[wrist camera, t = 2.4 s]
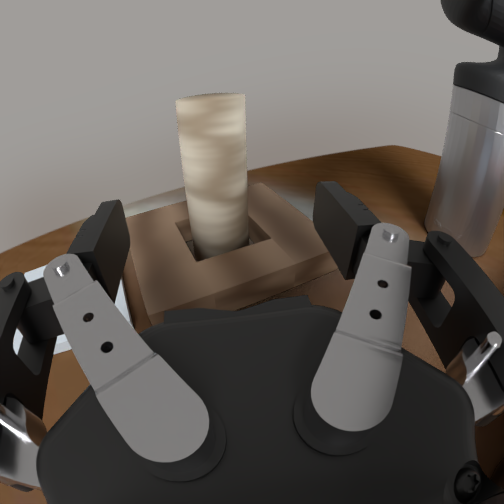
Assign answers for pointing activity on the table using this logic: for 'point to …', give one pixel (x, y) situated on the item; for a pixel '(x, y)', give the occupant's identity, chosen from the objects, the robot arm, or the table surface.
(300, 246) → the walnut pocket board
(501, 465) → the supplement bottle
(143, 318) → the table surface
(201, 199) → the birch post
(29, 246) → the table surface
